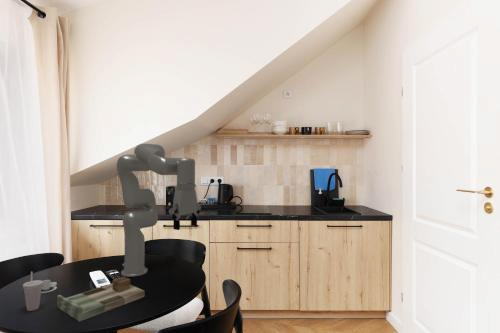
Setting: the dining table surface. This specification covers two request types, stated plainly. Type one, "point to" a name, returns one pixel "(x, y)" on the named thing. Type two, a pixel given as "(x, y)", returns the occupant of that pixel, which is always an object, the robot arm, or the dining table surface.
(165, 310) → the dining table surface
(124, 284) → the walnut block
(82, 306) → the board
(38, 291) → the smoothie
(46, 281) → the teacup and saucer
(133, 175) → the robot arm
